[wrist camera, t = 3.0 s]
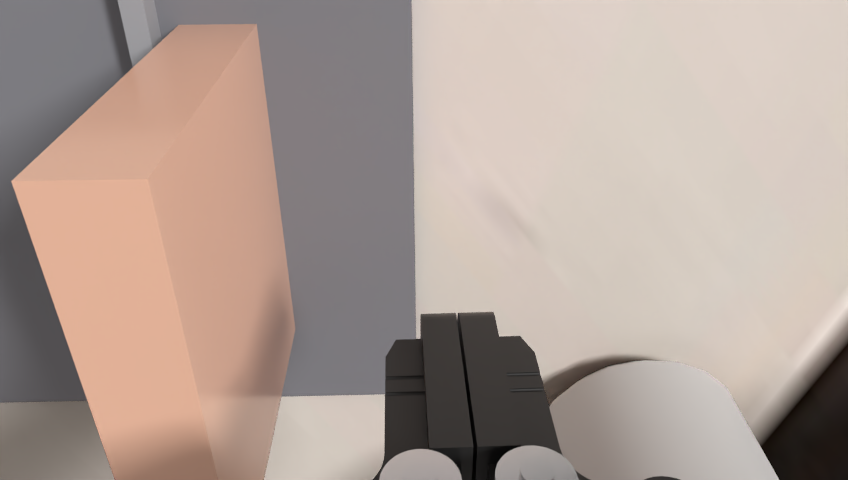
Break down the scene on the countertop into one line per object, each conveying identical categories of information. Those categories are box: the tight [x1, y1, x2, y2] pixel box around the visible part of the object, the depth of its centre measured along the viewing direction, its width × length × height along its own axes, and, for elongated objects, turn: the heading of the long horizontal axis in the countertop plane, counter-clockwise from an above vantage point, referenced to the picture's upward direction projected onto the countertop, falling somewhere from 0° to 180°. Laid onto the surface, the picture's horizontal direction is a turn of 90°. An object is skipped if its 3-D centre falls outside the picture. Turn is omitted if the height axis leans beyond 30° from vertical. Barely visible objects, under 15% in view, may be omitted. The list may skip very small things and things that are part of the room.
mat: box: [0, 0, 416, 402], centre depth 20 cm, size 20×16×1 cm
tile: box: [11, 24, 295, 480], centre depth 17 cm, size 2×10×9 cm, turn 0°
